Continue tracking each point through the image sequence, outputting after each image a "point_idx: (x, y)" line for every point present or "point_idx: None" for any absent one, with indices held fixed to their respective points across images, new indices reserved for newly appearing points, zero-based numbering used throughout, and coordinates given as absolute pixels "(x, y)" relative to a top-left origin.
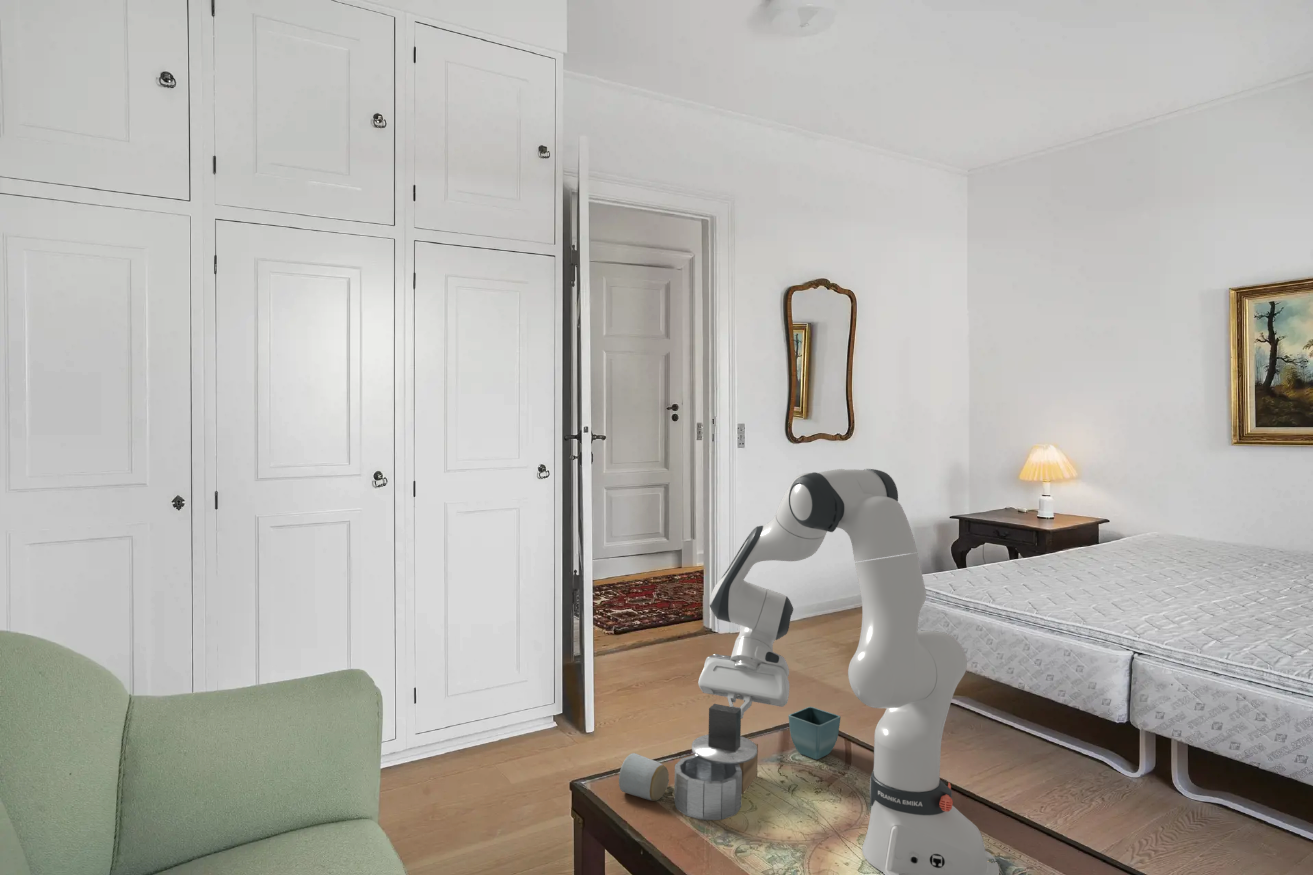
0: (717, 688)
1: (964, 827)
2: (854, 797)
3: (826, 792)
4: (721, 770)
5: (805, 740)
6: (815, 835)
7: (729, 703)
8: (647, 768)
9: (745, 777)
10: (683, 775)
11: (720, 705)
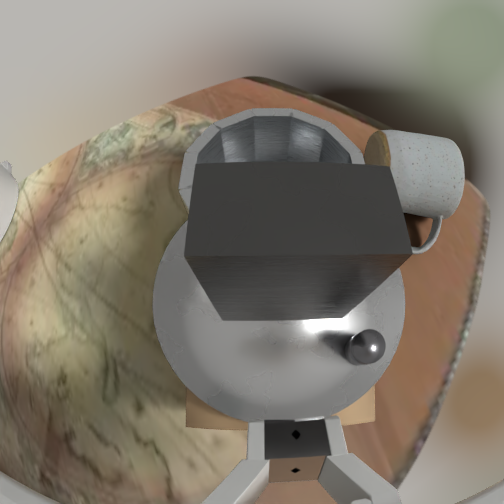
0: (494, 486)
1: None
2: (10, 374)
3: (48, 381)
4: None
5: None
6: (63, 210)
7: (358, 462)
8: (400, 131)
9: None
10: (312, 120)
11: (358, 241)
